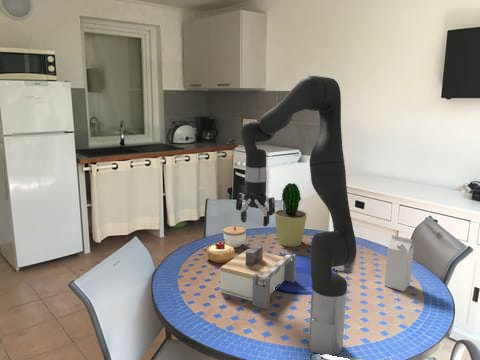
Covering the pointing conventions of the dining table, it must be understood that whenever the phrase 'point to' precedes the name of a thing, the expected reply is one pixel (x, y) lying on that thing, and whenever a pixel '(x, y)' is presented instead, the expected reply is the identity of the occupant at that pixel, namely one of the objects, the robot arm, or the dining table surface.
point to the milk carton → (399, 263)
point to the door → (256, 264)
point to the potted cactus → (290, 218)
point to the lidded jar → (234, 235)
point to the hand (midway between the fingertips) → (254, 223)
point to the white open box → (252, 289)
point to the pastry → (220, 252)
